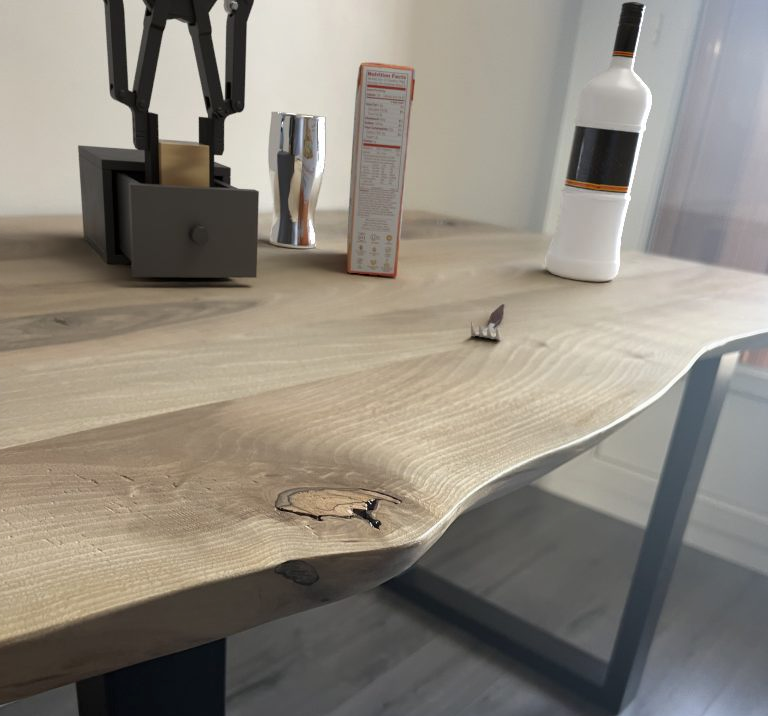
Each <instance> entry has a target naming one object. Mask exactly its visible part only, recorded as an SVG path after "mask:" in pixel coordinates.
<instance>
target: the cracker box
mask: <svg viewBox="0 0 768 716" xmlns="http://www.w3.org/2000/svg"><path fill="white" fill-rule="evenodd" d="M357 71H358V72H357V78H356V79H357V80H356V89H355V98H354V100H355V101H354V112H353V113H354V115H353V117H354V118H353V131H352V148H351V162H350V163H351V165H350V181H349V199H348V215H347V216H348V217H347V218H348V219H347V236H346V237H347V242H346V243H347V245H346V248H347V249H346V261H347V262H346V263H347V264H346V265H347V273H348V272H349V273H348V274H351V273H360V274H369V275H368V276H377V275H380V277H390V276H391V278H392V277H393V278H395V277H397V276H398V266H399V265H398V264H399V256H400V255H399V254H400V243H401V233H402V232H401V231H402V221H403V208H404V199H405V187H406V176H407V166H408V165H407V164H408V154H409V146H410V145H409V144H410V134H411V123H412V114H413V102H414V93H415V85H416V68H415V67H411V66H404V65H398V64H391V63H385V62H374V61H373V62H367V61H366V62H361V63H360V65H359V66H358V70H357ZM360 274H359V275H360Z"/></svg>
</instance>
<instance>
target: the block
mask: <svg viewBox="0 0 768 716" xmlns="http://www.w3.org/2000/svg"><path fill="white" fill-rule="evenodd" d="M158 148H159V183H160V185H178V186H197V187H209V146H207V145H204V144H201V143H199V141H190V140H177V139H176V140H175V139H162V138H159V142H158Z"/></svg>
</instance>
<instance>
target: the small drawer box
mask: <svg viewBox="0 0 768 716" xmlns="http://www.w3.org/2000/svg"><path fill="white" fill-rule="evenodd" d="M77 152H78V153H77V154H78V167H79V183H80V184H79V185H80V198H81V212H82V213H81V214H82V216H81V217H82V229H83V238H84V239H85V240H86V242H87V243H88V244H89V245H90V246H91V247H92V248H93V250H94V251H95V252H96V253H97V254H98V255H99V256H100V258H101V259H102V260H103V261H104V262H105V263H106V264H108V265H131V260H130V259H129V258H128V257H127V256H126V255H125V254H124V253H123V252H122V251H121V250H120V249H119V248H118V247H117V246H116V245H115V228H114V207H113V186H112V170H116V171H132V172H145V152H144V150H138V149H136V148H122V147H109V146H93V145H80V144H79V145H77ZM231 177H232V168H231V167H230V166H227V165H224V164H222V163H219V162H217V161H214V178H215V179H217V180H220V181H222V182H224V183H227V184H229V185H231V182H232V181H231V179H232V178H231ZM231 186H232V185H231Z"/></svg>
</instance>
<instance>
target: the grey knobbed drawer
mask: <svg viewBox="0 0 768 716" xmlns="http://www.w3.org/2000/svg"><path fill="white" fill-rule="evenodd" d="M112 186H113V207H114V228H115V245H116V246H117V247H118V248H119V249H120V250H121V251H122V252H123V253H124V254H125V255H126V256H127V257H128V258H129V259H130V260H131V264H130V265H131V276H133V277H134V278H235V279H236V278H240V279H241V278H246V279H250V278H252V279H253V278H254V279H255V278H257V276H258V275H257V273H258V239H259V237H258V236H259V235H258V234H259V204H260V199H259V198H260V191H259V190H256V189H254V188H252V189H251V188H238V187H236V186H234V185H229V184H227V183H224V182H222V181H220V180H217V179H215V178H214V187H197V186H178V185H159V184H146V183H145V172H132V171H116V170H112Z"/></svg>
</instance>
